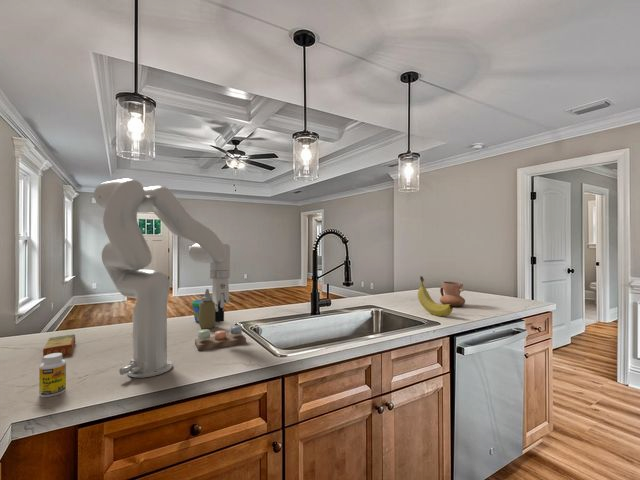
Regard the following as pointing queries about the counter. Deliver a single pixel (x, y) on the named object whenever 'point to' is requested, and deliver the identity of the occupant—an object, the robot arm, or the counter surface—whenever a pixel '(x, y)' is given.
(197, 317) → the snack cup
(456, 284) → the ceramic jug
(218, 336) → the button terracotta
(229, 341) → the button board
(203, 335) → the button sage
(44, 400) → the counter surface
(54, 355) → the supplement bottle
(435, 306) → the banana
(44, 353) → the carton
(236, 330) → the button slate
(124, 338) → the counter surface
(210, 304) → the squeeze bottle
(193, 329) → the counter surface
